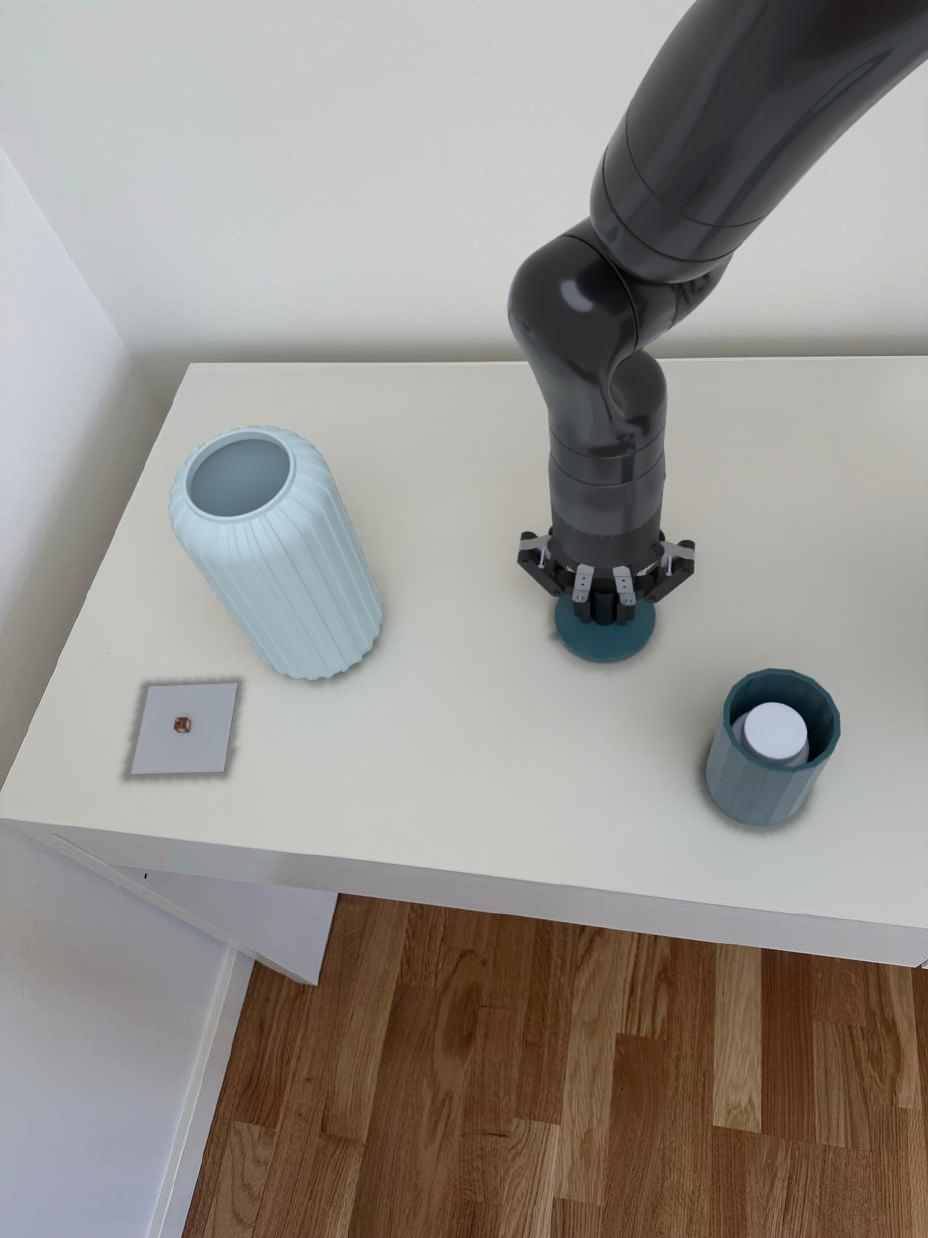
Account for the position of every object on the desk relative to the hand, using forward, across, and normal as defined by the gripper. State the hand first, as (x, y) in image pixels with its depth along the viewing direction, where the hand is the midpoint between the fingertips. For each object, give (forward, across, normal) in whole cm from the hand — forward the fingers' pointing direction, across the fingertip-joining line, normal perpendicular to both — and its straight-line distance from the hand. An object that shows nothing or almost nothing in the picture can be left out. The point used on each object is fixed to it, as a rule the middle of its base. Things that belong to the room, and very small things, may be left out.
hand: (604, 614), depth 76 cm
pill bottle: (+1, +12, -13) cm, 17 cm away
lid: (+1, 0, 0) cm, 1 cm away
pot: (+1, +12, -13) cm, 18 cm away
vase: (+1, -24, -3) cm, 24 cm away
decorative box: (+1, -34, -13) cm, 36 cm away
